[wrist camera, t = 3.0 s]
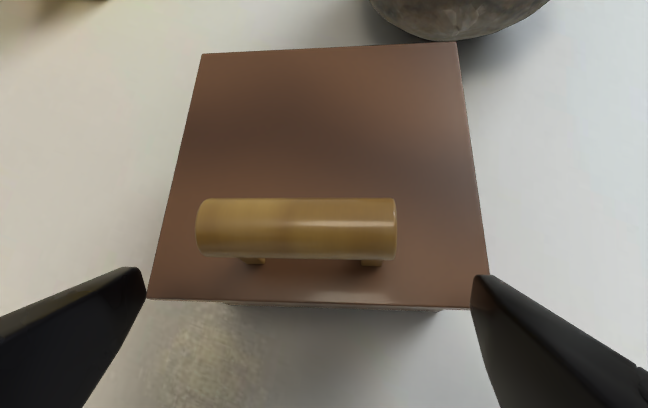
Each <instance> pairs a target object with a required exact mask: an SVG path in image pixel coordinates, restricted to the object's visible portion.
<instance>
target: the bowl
mask: <svg viewBox="0 0 648 408" xmlns="http://www.w3.org/2000/svg"><path fill="white" fill-rule="evenodd" d="M369 1H370V3H371V4H372V5H373V7H374V8H375V9H376V11H377V12H378V13H379V14H380V15H381V16H382V17H383V18H384V19H385V20H386V21H388V22H389V23H391V24H393V25H395V26H397V27H399V28H400V29H402V30H404V31H405V32H407V33H410V34H413V35H415V36H418V37H420V38H423V39H427V40H431V41H446V42H449V41H457V40H464V39H470V38H475V37H479V36H483V35H488V34H492V33H495V32H498V31H500V30H502V29H504V28H506V27H509V26H511V25H513V24H515V23H517V22H519V21H521V20H523V19H525V18H527V17H528V16H530V15H531V14H533V13H534V12H535V11H537V10H538V9H539V8H541V7H542V6H543V5H544V4H546V3H547V2H548V1H549V0H369Z"/></svg>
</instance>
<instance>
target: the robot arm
mask: <svg viewBox="0 0 648 408" xmlns="http://www.w3.org/2000/svg"><path fill="white" fill-rule="evenodd" d="M146 295H147V292H146V288H145V285H144V281H143V278H142V274H141V271H140V270H139V269H138V268H137V267H121V268H118V269H116V270H114V271H111V272H109V273H106V274H104V275H101V276H99V277H96V278H94V279H92V280H89V281H87V282H84V283H82V284H79V285H77V286H75V287H72V288H70V289H67V290H65V291H62V292H60V293H57V294H55V295H53V296H50V297H48V298H45V299H43V300H40V301H38V302H36V303H33V304H31V305H28V306H26V307H23V308H21V309H18V310H16V311H14V312H11V313H9V314H6V315H4V316H1V317H0V408H82V407H83V406H84V404H85V403H86V401H87V400H88V398H89V396H90V395H91V393H92V392H93V390H94V389H95V387H96V386H97V384H98V382H99V381H100V379H101V378H102V376H103V375H104V373H105V372H106V370H107V369H108V367H109V365H110V364H111V362H112V361H113V359H114V358H115V356H116V354H117V353H118V351H119V349H120V348H121V346H122V344H123V342H124V340H125V338H126V337H127V335H128V333H129V331H130V329H131V327H132V325H133V323H134V321H135V319H136V317H137V315H138V313H139V312H140V310H141V308H142V306H143V304H144V302H145V300H146ZM470 311H471V315H472V319H473V322H474V326H475V330H476V334H477V338H478V342H479V346H480V349H481V353H482V357H483V361H484V364H485V368H486V370H487V373H488V376H489V379H490V381H491V384H492V386H493V389H494V392H495V394H496V397H497V399H498V402H499V405H500V407H501V408H648V371H646V370H644V369H643V368H641V367H636V364H635V363H633V362H631V361H630V360H628V359H627V358H625V357H623V356H622V355H620V354H619V353H617V352H615V351H614V350H612V349H611V348H609V347H607V346H606V345H604V344H602V343H601V342H599V341H598V340H596V339H594V338H593V337H591V336H590V335H588V334H586V333H585V332H583V331H582V330H580V329H578V328H577V327H575V326H574V325H572V324H570V323H569V322H567V321H566V320H564V319H562V318H561V317H559V316H558V315H556V314H554V313H553V312H551V311H550V310H548V309H546V308H545V307H543V306H542V305H540V304H538V303H537V302H535V301H534V300H532V299H530V298H529V297H527V296H526V295H524V294H522V293H521V292H519V291H518V290H516V289H514V288H513V287H511V286H510V285H508V284H506V283H505V282H503V281H502V280H500V279H498V278H497V277H495V276H493V275H475V277H474V279H473V284H472V290H471V297H470Z"/></svg>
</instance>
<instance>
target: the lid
mask: <svg viewBox="0 0 648 408" xmlns="http://www.w3.org/2000/svg"><path fill="white" fill-rule="evenodd" d="M475 275H490V272H489V265H488V258H487V251H486V244H485V237H484V230H483V223H482V216H481V209H480V202H479V195H478V188H477V181H476V174H475V167H474V160H473V154H472V147H471V140H470V133H469V126H468V119H467V112H466V105H465V98H464V91H463V84H462V77H461V70H460V63H459V56H458V49H457V42H456V41H453V42H432V43H412V44H391V45H371V46H351V47H330V48H310V49H290V50H269V51H249V52H229V53H208V54H202V56H201V60H200V65H199V69H198V73H197V78H196V82H195V86H194V91H193V95H192V99H191V104H190V108H189V112H188V116H187V121H186V125H185V129H184V134H183V138H182V142H181V147H180V151H179V155H178V160H177V164H176V168H175V172H174V177H173V181H172V185H171V190H170V194H169V198H168V203H167V207H166V211H165V215H164V220H163V224H162V228H161V233H160V237H159V241H158V246H157V250H156V254H155V259H154V263H153V267H152V271H151V276H150V280H149V284H148V289H147V295H146V298H147V299H152V300H166V301H197V302H228V303H259V304H290V305H322V306H353V307H384V308H415V309H446V310H470V297H471V290H472V284H473V279H474V277H475Z"/></svg>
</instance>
